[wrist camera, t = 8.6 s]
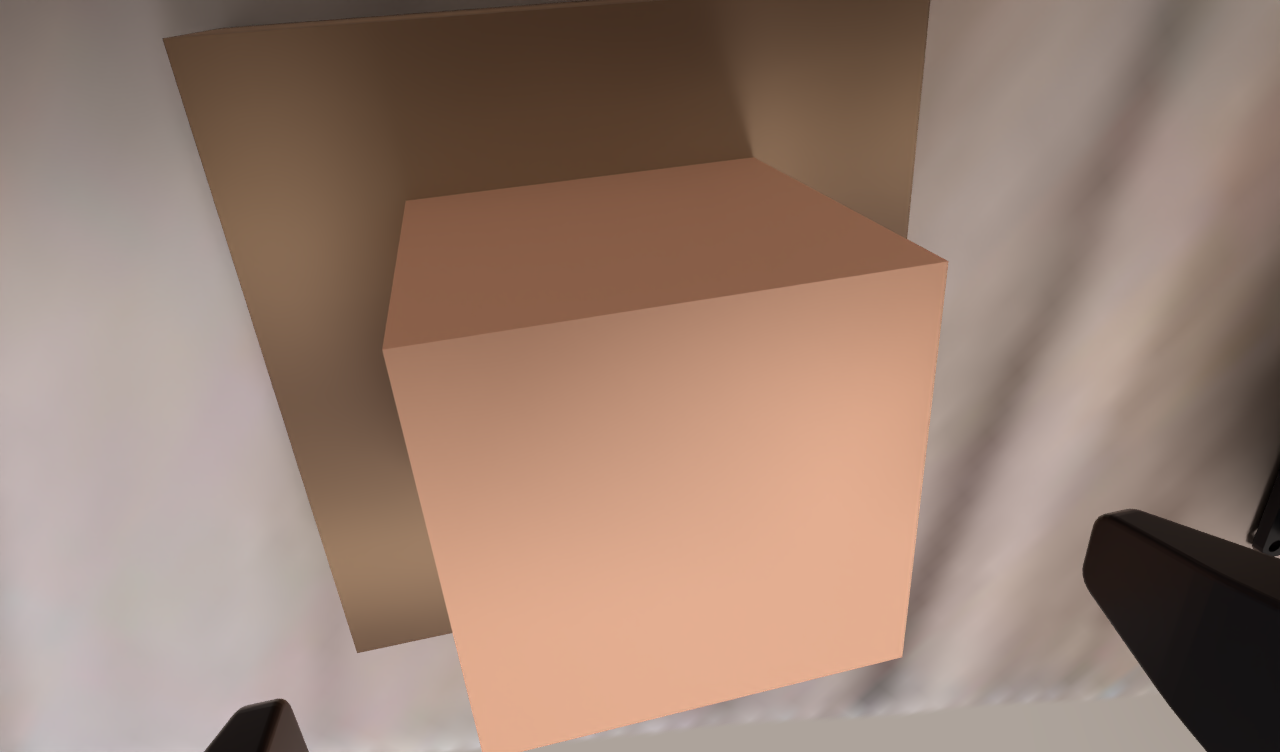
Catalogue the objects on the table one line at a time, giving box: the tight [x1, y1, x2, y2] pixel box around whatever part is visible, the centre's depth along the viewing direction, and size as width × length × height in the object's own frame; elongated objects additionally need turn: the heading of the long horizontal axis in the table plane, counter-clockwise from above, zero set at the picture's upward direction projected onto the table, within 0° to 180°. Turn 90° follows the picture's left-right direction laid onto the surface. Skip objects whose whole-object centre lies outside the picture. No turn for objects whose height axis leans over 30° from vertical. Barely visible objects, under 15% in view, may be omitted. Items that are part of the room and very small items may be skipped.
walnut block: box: [163, 0, 930, 653], centre depth 16 cm, size 12×12×4 cm
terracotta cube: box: [382, 157, 948, 752], centre depth 12 cm, size 6×6×6 cm
